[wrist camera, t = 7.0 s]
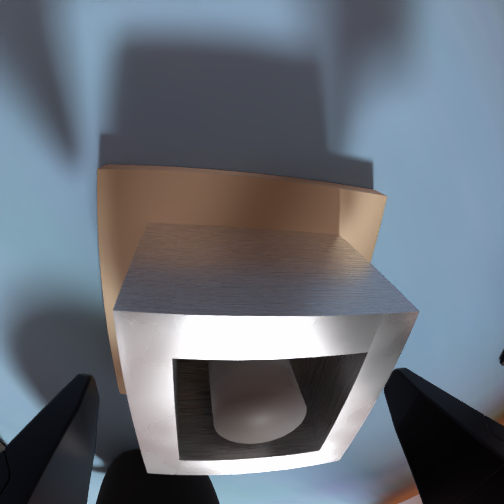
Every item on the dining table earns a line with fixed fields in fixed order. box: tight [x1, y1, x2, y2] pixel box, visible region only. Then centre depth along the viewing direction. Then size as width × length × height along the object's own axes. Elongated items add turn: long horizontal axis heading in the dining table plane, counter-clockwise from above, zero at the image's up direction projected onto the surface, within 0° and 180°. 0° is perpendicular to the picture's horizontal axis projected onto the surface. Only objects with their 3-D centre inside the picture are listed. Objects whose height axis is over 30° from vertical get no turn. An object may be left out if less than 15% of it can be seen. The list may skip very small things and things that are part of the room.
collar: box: [113, 222, 419, 475], centre depth 10 cm, size 7×7×5 cm
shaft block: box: [97, 164, 387, 444], centre depth 10 cm, size 10×10×6 cm
